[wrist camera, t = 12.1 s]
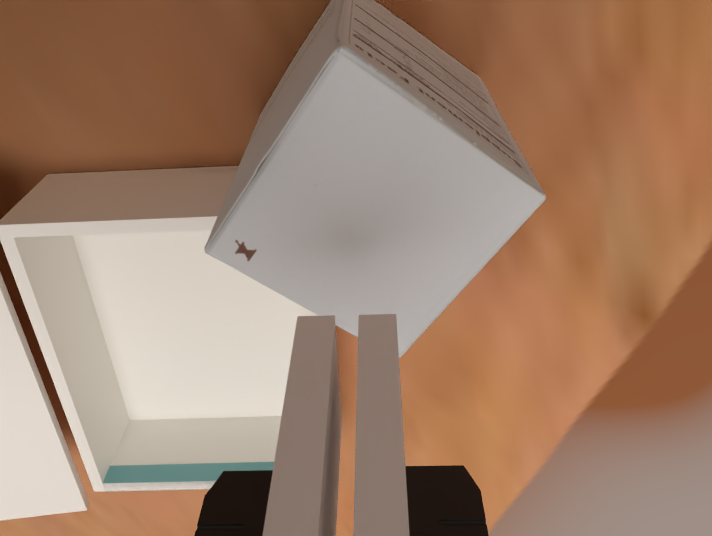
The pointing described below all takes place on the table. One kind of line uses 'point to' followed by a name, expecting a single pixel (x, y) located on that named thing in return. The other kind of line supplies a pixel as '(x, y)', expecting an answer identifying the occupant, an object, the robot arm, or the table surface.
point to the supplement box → (374, 177)
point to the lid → (30, 433)
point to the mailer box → (151, 326)
